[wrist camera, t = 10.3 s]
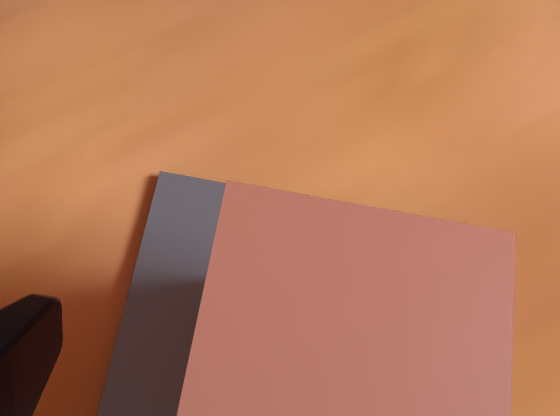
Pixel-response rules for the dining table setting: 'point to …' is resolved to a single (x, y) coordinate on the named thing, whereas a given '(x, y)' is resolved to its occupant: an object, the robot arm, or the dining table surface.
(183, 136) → the dining table surface
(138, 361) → the slate mat
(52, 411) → the dining table surface
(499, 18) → the dining table surface
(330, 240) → the red block
